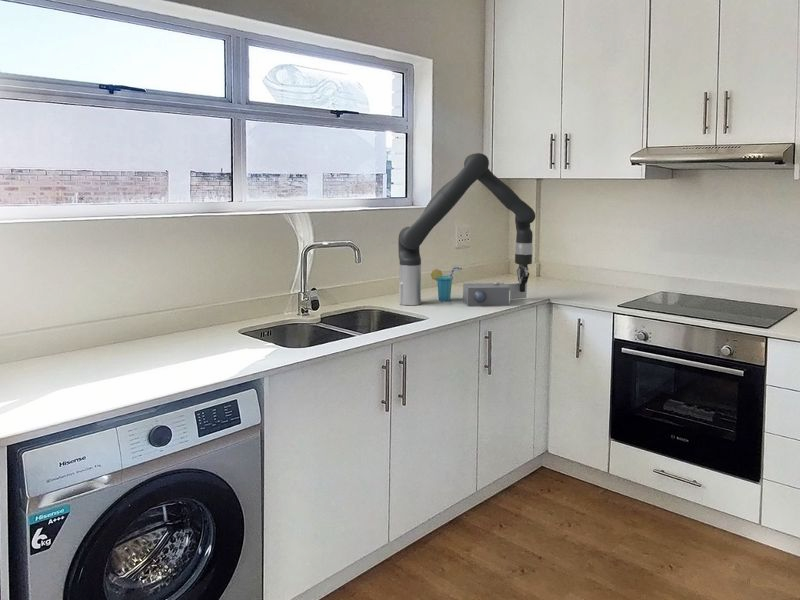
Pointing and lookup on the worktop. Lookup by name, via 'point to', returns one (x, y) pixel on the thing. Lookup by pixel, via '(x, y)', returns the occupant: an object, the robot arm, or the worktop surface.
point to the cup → (443, 284)
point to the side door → (517, 291)
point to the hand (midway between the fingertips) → (522, 291)
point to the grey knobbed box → (486, 294)
